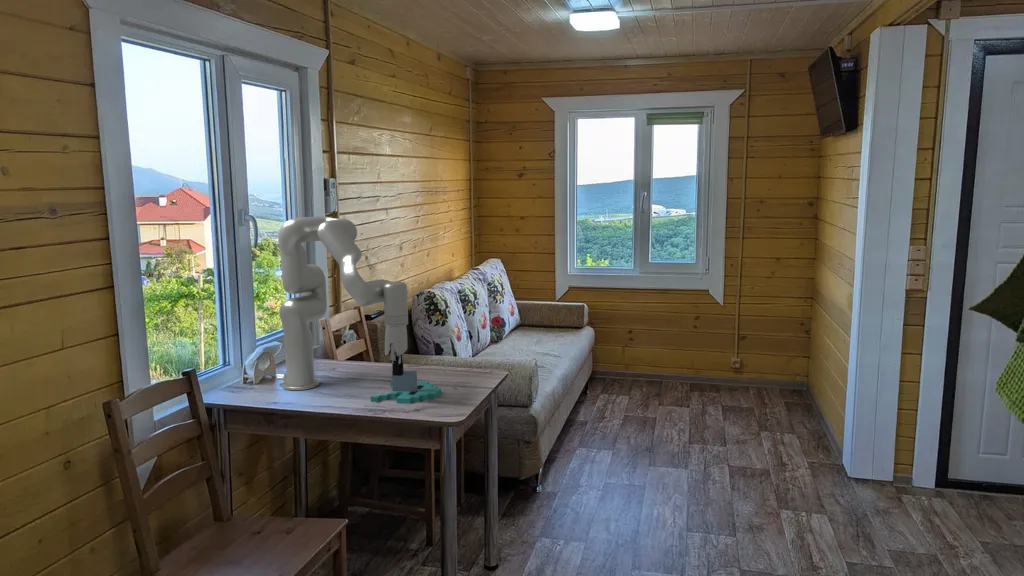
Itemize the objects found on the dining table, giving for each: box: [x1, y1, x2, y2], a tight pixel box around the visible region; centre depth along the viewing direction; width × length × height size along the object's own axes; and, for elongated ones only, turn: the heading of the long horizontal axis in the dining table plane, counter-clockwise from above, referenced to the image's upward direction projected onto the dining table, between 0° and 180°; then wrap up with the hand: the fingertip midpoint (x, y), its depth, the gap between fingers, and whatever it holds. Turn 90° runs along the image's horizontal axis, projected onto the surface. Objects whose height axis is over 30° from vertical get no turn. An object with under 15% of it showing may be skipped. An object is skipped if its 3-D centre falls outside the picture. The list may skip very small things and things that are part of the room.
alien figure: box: [370, 381, 443, 405], centre depth 235 cm, size 20×2×20 cm
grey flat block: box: [391, 369, 418, 392], centre depth 234 cm, size 7×2×8 cm
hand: (398, 374), depth 228 cm, fingers closed
